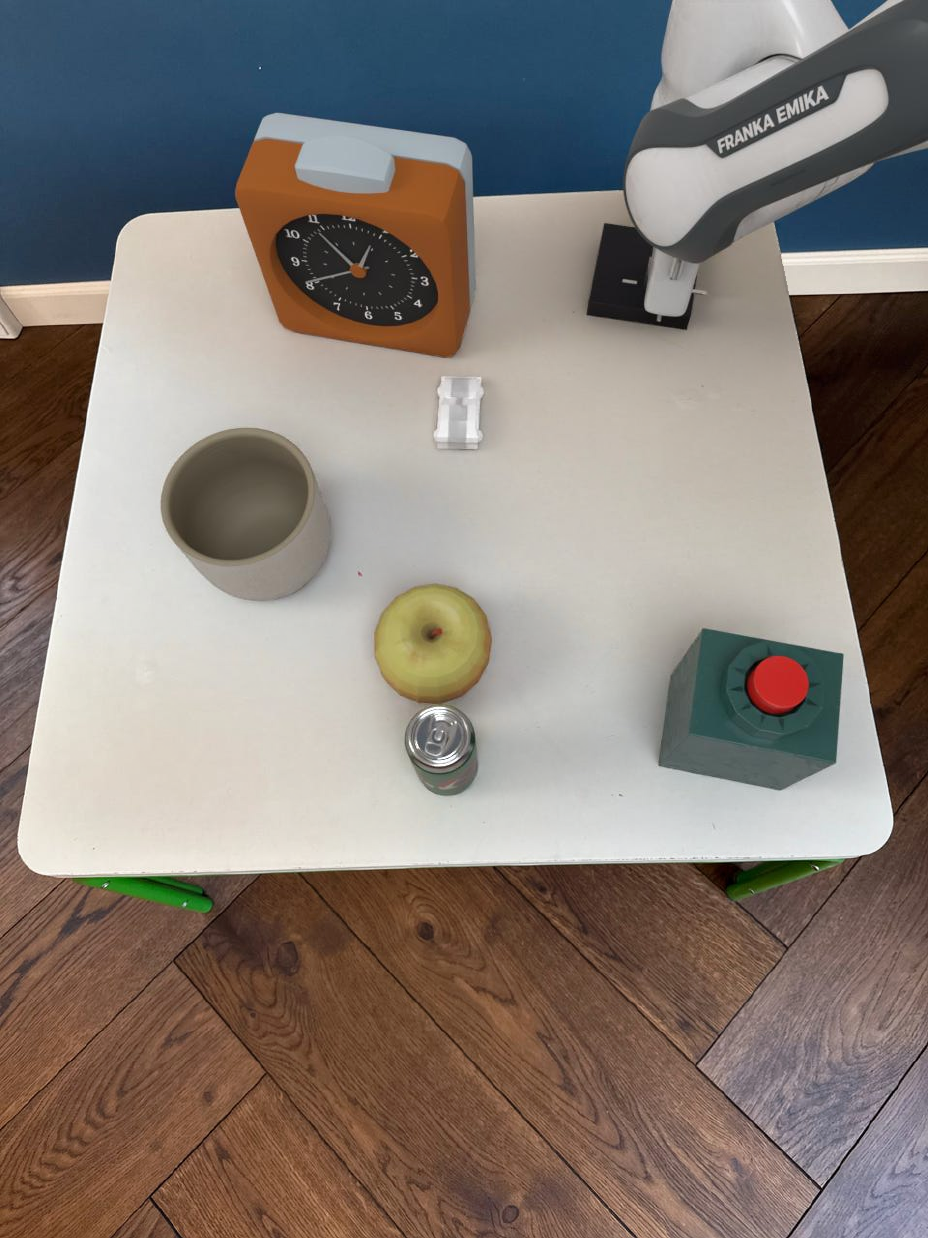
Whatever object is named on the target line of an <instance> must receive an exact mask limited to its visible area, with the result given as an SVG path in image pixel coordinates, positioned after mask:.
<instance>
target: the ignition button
mask: <svg viewBox="0 0 928 1238" xmlns="http://www.w3.org/2000/svg"><path fill="white" fill-rule="evenodd" d="M808 687H809V683H808V678H807V675H806V673H805V671H804V669H803V668H802V667H801V666H800V665H799V664H798V663H797V662H796V661H794V660H792V659H790V658H788V657H784V656H773V657H769V658H767V659H765V660H763V661H762V662H761V663H760V664H759V665H758V666H757V667H756V668H755V669H754V670H753V671H752V672H751V674H750V676H749V678H748V682H747V689H748V693H749V696H750V698H751V700H752V701H753V702H754V704H755V705H756V706H758V707H759V708H760V709H762V710H764V711H766V712H769V713H774V714H780V713H785V712H787V711H789V710H791V709H792V708H794V707H795V706H796V705H798V704H799V703H800V702H801V701H802V700H803V699H804V698H805V696H806V694H807V692H808Z"/></svg>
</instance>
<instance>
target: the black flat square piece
mask: <svg viewBox="0 0 928 1238" xmlns="http://www.w3.org/2000/svg"><path fill="white" fill-rule="evenodd" d="M652 253H653V246H652V245H650V244H649V243H648V242H647V241H646V240H644V238H643V237H642V236H641V235H640V234H639V232H638V231H637V230H636V228H635V226H631V225H630V226H629V225H622V224H615V223H608V222H604V223H603V227H602V232H601V237H600V241H599V247H598V252H597V257H596V262H595V267H594V271H593V277H592V282H591V287H590V291H589V298H588V301H587V309H586V316H590V317H598V318H603V319H609V320H617V321H624V322H628V323H629V322H630V323H635V324H636V323H637V324H643V325H649V326H657V327H663V328H670V329H676V330H677V329H678V330H683V331H687V330H688V327H689V324H690V321H691V318H692V313H693V306H694V301H695V294H696V295H701V296H707V292H708V291H707V290H701V289H696V287H697V286H696V285H697V279H698V272H699V271H698V272H697V275H696V279H695V283H694V286H693V290H692V293H691V296H690V300H689V303H688V307H687V309H686V311H685V313H684V314H683V315H681V316H677V317H675V316H663V315H658V314H653V313H650V312H648V311H646V310H645V308H644V300H645V294H646V290H643V286H644V281H645V276H646V271H647V267H648V263H649V258H650V257H652Z"/></svg>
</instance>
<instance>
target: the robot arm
mask: <svg viewBox="0 0 928 1238" xmlns="http://www.w3.org/2000/svg"><path fill="white" fill-rule="evenodd" d="M660 57H661V58H660V63H661V74H662V75H661V79H660V81H659V83H658V85H657V87H656V89H655V91H654V93H653V96H652V100H651V104H650V109H649V111H648V112H647V113H645V115H644V116H643V117H642V119H641V121H640V123H639V126H638V127H637V129H636V132H635V134H634V137H633V138H632V140H631V144H630V147H629V150H628V154H627V157H626V161H625V164H624V169H623V177H622V192H623V199H624V204H625V207H626V211H627V213H628V217H629V218H630V221H631V223H632V225H633V227H635V228H636V230H637V231H638V232H639V234H640V235H641V236H642V237H643V238H644V240H646V241H647V242H648V243H649V244H650V245H652V246H653V253H652V258H651V264H650V270H649V276H648V282H647V288H646V294H645V300H644V308H645V310H646V311H648V312H650V313H653V314H658V315H663V316H675V317H677V316H681V315H683V314H684V313H685V311H686V309H687V307H688V303H689V300H690V296H691V293H692V290H693V286H694V283H695V279H696V275H697V276H698V273H697V272H699V269H700V264H703V263H704V262H706V261H707V260H709V259H711V258H713V257H714V256H716V255H718V254H719V253H721V252H723V251H724V250H726V249H728V248H730V247H731V246H732V244H733V243H735V242H737V241H739V240H741V239H743V238H745V237H747V236H748V235H751V234H753V233H754V232H756V231H759V230H760V229H762V228H764V227H766V226H768V225H770V224H772V223H774V222H776V221H778V220H780V219H781V218H784V217H786V216H787V215H790V214H791V213H794V212H796V211H797V210H799V209H801V208H804V207H805V206H806V205H809V204H811V203H813V202H815V201H817V200H819V199H821V198H823V197H824V196H827V195H828V194H830V193H832V192H834V191H836V190H837V189H839V188H842V187H843V186H846V185H847V184H849V183H851V182H852V181H854V180H855V179H856V180H857V178H860V177H862V176H864V175H865V174H866V173H868V172H869V171H870V170H871V169H872V168H873V167H874V165H876V163H877V162H880V161H883V160H887V159H891V158H894V157H897V156H898V157H899V156H902V155H905V154H909V153H913V152H917V151H922V150H925V149H928V0H886V1H885V2H883V3H882V4H881V5H880V6H878V7H877V8H876V9H874V10H873V11H872V12H870V13H869V14H868V15H867V16H865V17H864V18H863V19H861V20H860V21H859V22H857V23H856V24H854V25H853V26H852V27H851V28H848V26H847V25H846V23H845V21H844V20H843V19H842V17H841V15H840V13H839V11H838V10H837V9H836V7H835V5H834V3H833V2H832V0H672V1H671V6H670V9H669V14H668V18H667V24H666V28H665V33H664V37H663V43H662V48H661V56H660Z"/></svg>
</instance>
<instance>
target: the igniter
mask: <svg viewBox="0 0 928 1238" xmlns="http://www.w3.org/2000/svg"><path fill="white" fill-rule="evenodd" d="M773 656H784V657H788V658H790V659H792V660H794V661H796V662H797V663H798V664H799V665H800V666H801V667H802V668H803V669H804V671H805V673H806V675H807V678H808V683H809V687H808V692H807V694H806V696H805V698H804V699H803V700H802V701H801V702H800V703H799V704H798V705H796V706H795V707H794V708H792V709H791V710H789V711H787V712H785V713H780V714H774V713H769V712H766V711H764V710H762V709H760V708H759V707H758V706H756V705H755V704H754V702H753V701H752V700H751V698H750V696H749V693H748V689H747V682H748V678H749V676H750V674H751V672H752V671H753V670H754V669H755V668H756V667H757V666H758V665H759V664H760V663H761V662H762V661H763V660H765V659H767V658H769V657H773ZM844 656H845V655H844V653H843V652H835V651H831V650H826V649H825V650H824V649H819V648H814V647H808V646H804V645H803V646H802V645H797V644H793V643H787V642H781V641H776V640H770V639H765V638H760V637H755V636H749V635H743V634H739V633H738V634H737V633H734V632H733V633H731V632H727V631H722V630H716V629H710V628H705V627H703V628H701V630H700V631H699V633H698V634H697V636H696V637H695V639H694V641H693V642H692V643H691V644H690V645H689V648H688V649H687V651H686V652H685V654H684V655H683V656H682V658H681V659H680V661H679V662H678V664H677V665H676V667H675V668H674V669H673V671H672V673H671V674H670V678H669V685H668V692H667V698H666V699H667V700H666V706H665V715H664V721H663V728H662V735H661V743H660V749H659V750H660V751H659V758H658V767H661V768H666V769H671V770H676V771H680V772H685V773H691V774H696V775H701V776H706V777H711V778H716V779H719V780H727V781H731V782H736V783H740V784H746V785H752V786H755V787H760V788H761V787H762V788H766V789H771V790H776V791H783V790H785V789H788V788H789V787H792V786H793V785H796V784H797V783H799V782H801V781H803V780H805V779H807V778H809V777H811V776H813V775H815V774H817V773H819V772H821V771H823V770H825V769H827V768H830V767H831V766H833V765H836V764H837V757H838V756H837V755H838V742H839V727H840V712H841V697H842V687H843V686H842V685H843V684H842V683H843V672H844V671H843V670H844V669H843V668H844V658H845V657H844Z"/></svg>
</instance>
